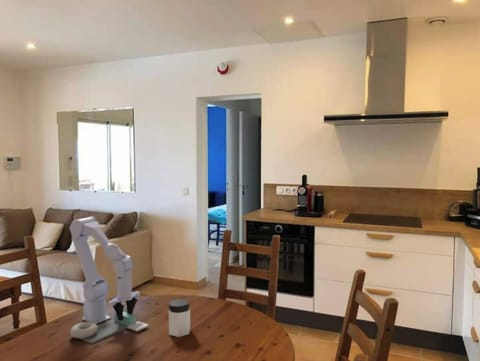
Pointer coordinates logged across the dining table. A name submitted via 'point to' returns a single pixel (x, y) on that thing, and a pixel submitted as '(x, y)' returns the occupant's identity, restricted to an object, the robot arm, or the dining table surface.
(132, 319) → the turner
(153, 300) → the dining table surface
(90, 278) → the robot arm
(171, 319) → the jar
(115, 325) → the slate board
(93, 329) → the donut
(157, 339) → the dining table surface
